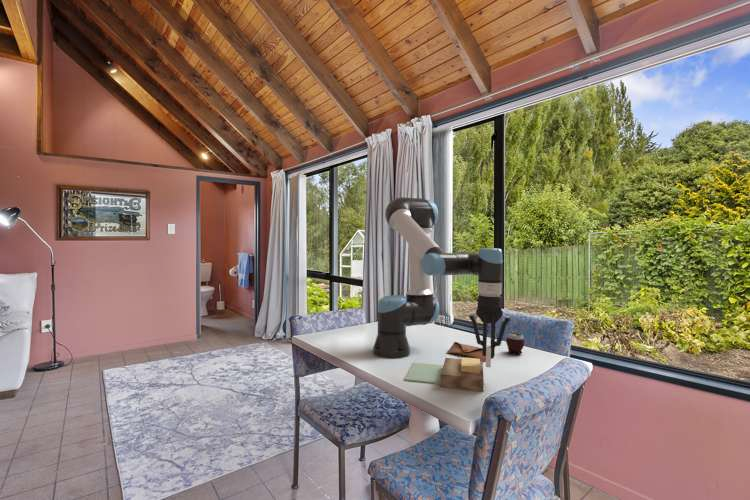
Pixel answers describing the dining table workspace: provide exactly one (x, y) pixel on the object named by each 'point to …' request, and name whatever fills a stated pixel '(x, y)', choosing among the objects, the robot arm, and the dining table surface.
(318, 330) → the dining table surface
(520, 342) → the mate gourd
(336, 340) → the dining table surface
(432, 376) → the mat
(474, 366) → the yellow rectangular block
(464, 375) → the brown piece
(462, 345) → the sunglasses case
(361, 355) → the dining table surface
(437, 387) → the dining table surface
